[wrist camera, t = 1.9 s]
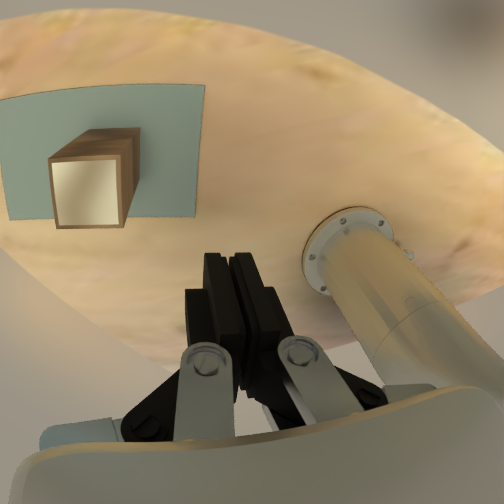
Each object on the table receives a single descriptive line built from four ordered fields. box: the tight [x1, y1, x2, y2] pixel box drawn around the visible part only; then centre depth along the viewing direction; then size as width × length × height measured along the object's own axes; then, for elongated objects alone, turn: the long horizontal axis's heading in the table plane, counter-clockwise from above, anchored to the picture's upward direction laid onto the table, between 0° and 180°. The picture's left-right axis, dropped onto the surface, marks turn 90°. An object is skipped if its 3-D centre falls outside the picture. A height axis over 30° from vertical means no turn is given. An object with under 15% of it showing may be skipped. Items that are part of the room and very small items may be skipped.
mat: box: [0, 84, 205, 220], centre depth 26 cm, size 21×13×1 cm, turn 83°
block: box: [48, 127, 140, 229], centre depth 22 cm, size 5×5×10 cm
